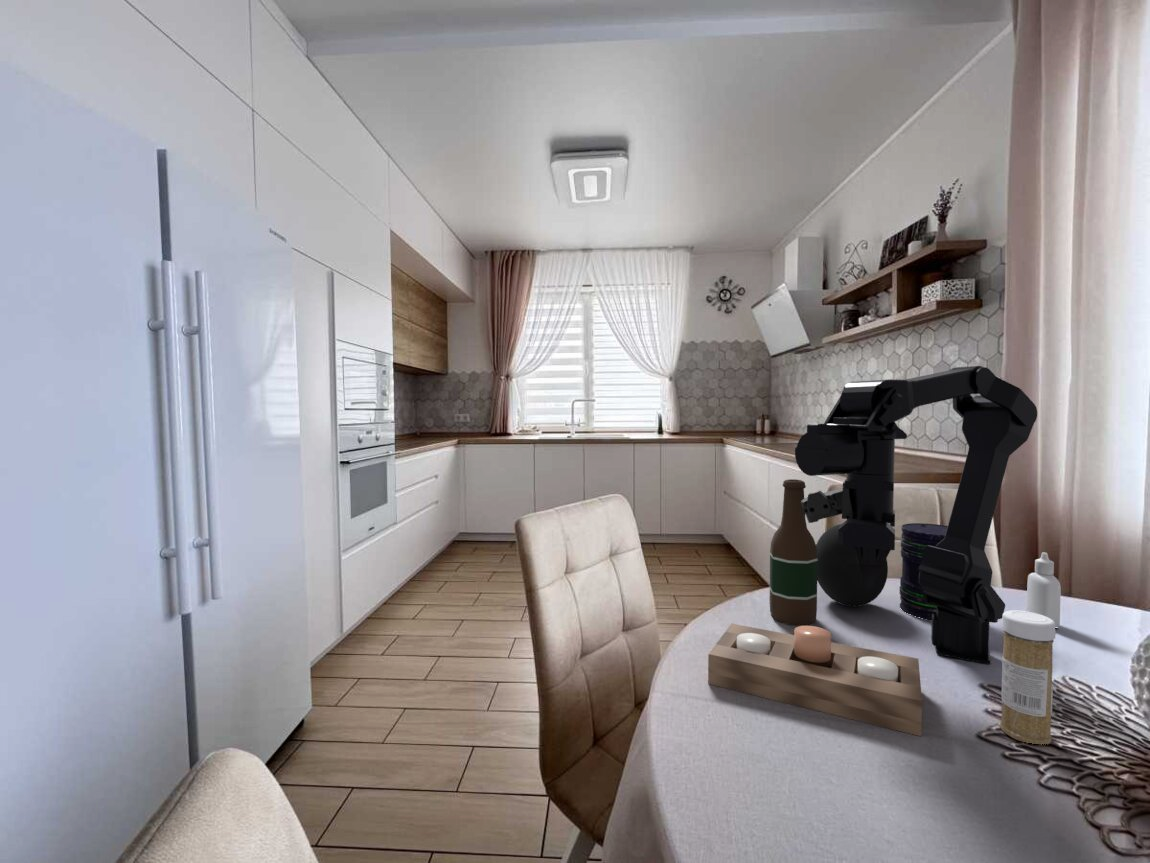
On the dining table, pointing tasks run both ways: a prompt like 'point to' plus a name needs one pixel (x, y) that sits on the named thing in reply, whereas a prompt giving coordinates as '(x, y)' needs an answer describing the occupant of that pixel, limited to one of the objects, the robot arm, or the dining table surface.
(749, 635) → the knob
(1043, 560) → the eye dropper bottle
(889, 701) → the knob mount
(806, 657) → the middle knob
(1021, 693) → the sprinkles bottle
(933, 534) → the storage jar
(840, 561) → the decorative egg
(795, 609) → the beer bottle
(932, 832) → the dining table surface
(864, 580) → the robot arm
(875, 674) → the knob
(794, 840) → the dining table surface
